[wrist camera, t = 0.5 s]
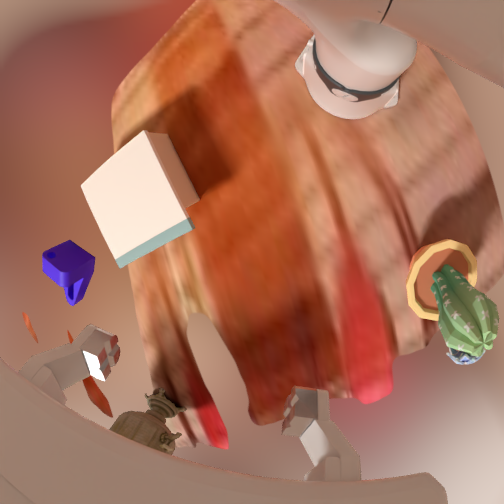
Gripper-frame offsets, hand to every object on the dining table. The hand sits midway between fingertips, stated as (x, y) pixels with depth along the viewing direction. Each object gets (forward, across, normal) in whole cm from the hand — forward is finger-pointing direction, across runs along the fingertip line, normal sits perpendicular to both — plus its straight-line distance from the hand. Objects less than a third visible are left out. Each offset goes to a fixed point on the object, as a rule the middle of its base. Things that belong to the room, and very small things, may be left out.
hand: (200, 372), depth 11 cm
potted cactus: (+37, -34, +6) cm, 51 cm away
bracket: (+43, +47, +34) cm, 72 cm away
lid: (+34, +24, +7) cm, 42 cm away
